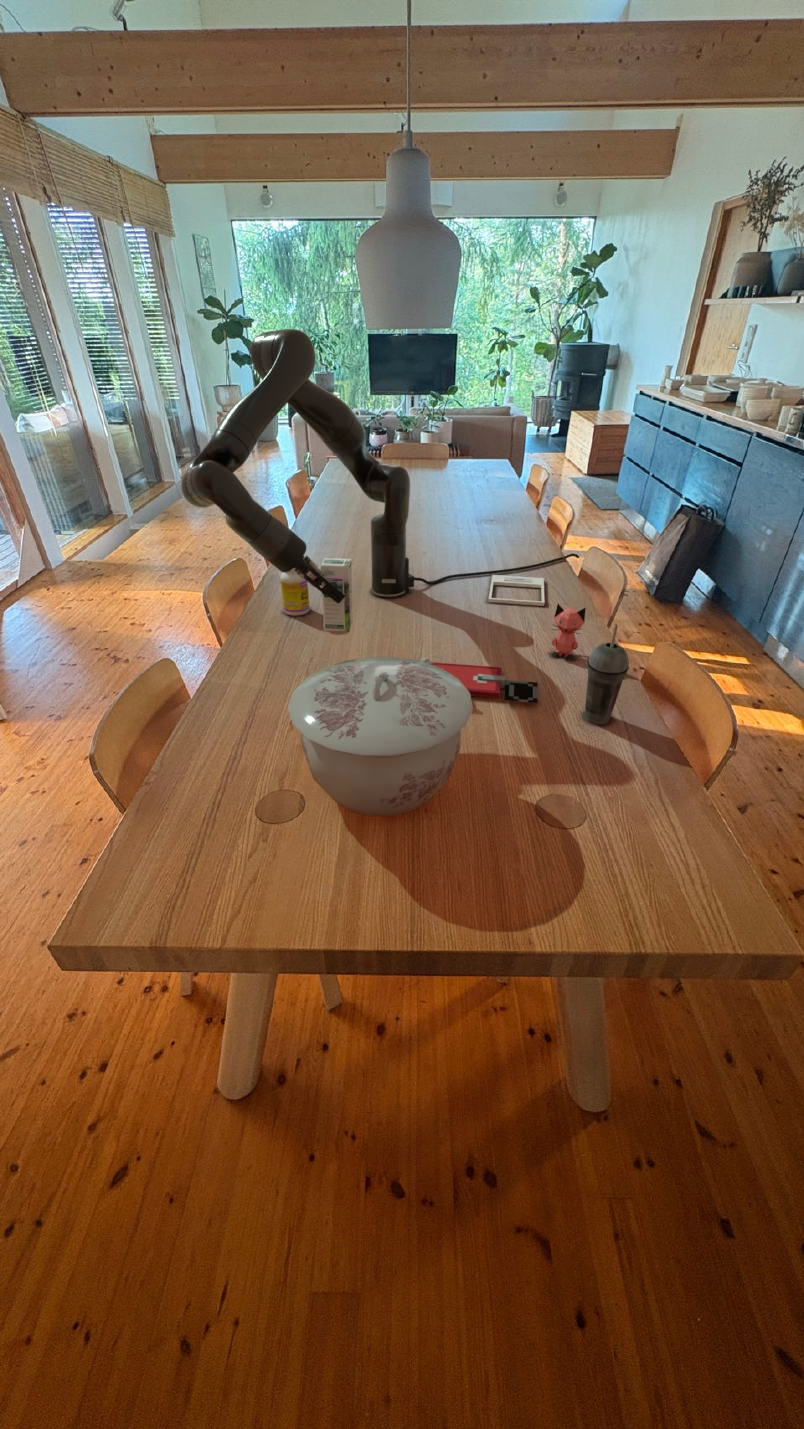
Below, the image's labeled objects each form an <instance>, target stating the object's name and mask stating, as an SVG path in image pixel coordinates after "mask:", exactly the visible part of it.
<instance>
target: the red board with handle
mask: <svg viewBox="0 0 804 1429" xmlns="http://www.w3.org/2000/svg"><path fill="white" fill-rule="evenodd" d="M431 662H432V661H431ZM432 663H433V664H434V666H436V667H439V668H442V669H443V670H445V671H446V672H448V673H450V674H451V675H453V676H454V677H456V678H458V679H459V680H460V681H461V683H462V684H463V685H464V686H465V688H466V689H467V690H468V691H469V693H470V694H471V696H476V697H488V698H489V697H490V698H500V693H501V692H500V691H501V689H504V690H503V692H504V693H503V701H507V702H520V703H530V704H538V702H539V698H538V696H539V693H538V682H537V681H523V680H510V679H506V677H507V676H506V675H502V670H503V669H502V667H501V666H489V665H488V666H487V665H475V664H459V663H446V662H445V663H444V662H432Z"/></svg>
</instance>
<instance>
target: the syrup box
mask: <svg viewBox="0 0 804 1429" xmlns="http://www.w3.org/2000/svg"><path fill="white" fill-rule="evenodd" d="M320 570H321V571H322V572H323V573H324V574H325V578H326V579H327V580H328V581H329V582H331V583H332V584H333V586H334V587H336V588H337V589H338V590H339V591H340V592H341V593H343V594H344V596H345V597H344V599H343V600H342V601H341V602H340V603H336V602H335V601H334V600H333V599H332V598H330V597H329V596H328V595H327V594H326V595H323V594H322V593H321V594H322V595H321V596H322V614H323V615H322V616H323V631H324V632H343V633H344V632H345V633H346V632H347V633H350V631H351V629H352V625H353V624H352V623H353V582H352V581H353V580H352V579H353V578H352V577H353V576H352V558H335V557H333V558H332V557H331V558H330V557H325V558H324V559H323V561H322V563H321V566H320ZM325 585H326V583H325V582H322V586H321V587H322V588H323V587H324V586H325Z"/></svg>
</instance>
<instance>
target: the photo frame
mask: <svg viewBox="0 0 804 1429" xmlns="http://www.w3.org/2000/svg"><path fill="white" fill-rule="evenodd" d="M494 586H505V587H506V586H507V587H520V588H521V587H522V588H533V589H535V588H537V589H540V593H541V594H540V595H541V596H540V597H541V601H540V600H525V599H511V598H499V597H498V598H497V597H493V589H494ZM487 601H488V603H496V604H511V605H523V606H524V605H525V606H540V607H544V606H545V603H546V602H545V601H546V600H545V577H532V576H530V577H529V576H519V575H518V576H517V575H516V576H515V575H499V574H491V580H490V588H489V594H488V600H487Z"/></svg>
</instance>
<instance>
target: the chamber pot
mask: <svg viewBox="0 0 804 1429" xmlns="http://www.w3.org/2000/svg"><path fill="white" fill-rule="evenodd" d="M433 663H434V662H433ZM433 663H432V660H430V659H429V658H426V657H421V658H420V659H419V660H416V659H411V658H403V657H397V656H370V657H363V658H357V659H350V660H344V661H341V662H339V663H335V664H332V665H328V666H325V667H323V668H321V669H320V670H318V671H316V672H314V673H313V674H311V675H309V676H307V677H306V678H305V679H304V680H303V681H301V683H300V684H299V685H298V686H297V687H296V689H295V690H294V691H293V692H292V693H291V696H290V699H289V702H288V706H287V709H288V713H289V717H290V720H291V723H292V725H293V726H294V727H295V728H296V729H298V731H299V732H300V740H301V747H302V750H303V753H304V757H305V760H306V763H307V765H308V768H309V771H310V773H311V776H312V779H313V781H314V782H315V783H316V784H317V785H318V786H319V787H320V788H321V789H322V790H323V792H325V793H326V794H327V795H328V796H329V797H330V798H331V799H332V800H333V801H334V802H335V803H336V804H337V805H339V806H340V807H343V808H345V809H347V810H349V811H351V812H353V813H355V814H359V815H364V816H368V817H386V818H387V817H395V816H398V815H403V814H407V813H409V812H412V811H413V810H416V809H418V808H419V807H422V806H423V805H425V804H426V803H427V802H429V800H431V798H433V797H434V796H435V795H436V793H437V792H439V790H440V789H441V788H443V786H444V785H445V784H446V783H447V782H448V781H449V780H450V777H451V775H452V772H453V770H454V768H455V765H456V762H457V759H458V755H459V753H460V749H461V743H462V742H461V740H462V729H463V728H464V727H465V726H466V725H467V724H468V723H469V722H468V721H469V719H470V718H471V715H472V713H473V711H474V707H473V701H472V695H471V694H470V693H469V691H468V690H467V689H466V688H465V686H464V685H463V684H462V683H461V681H460V680H459V679H458V678H456V677H454V676H453V675H451V674H450V673H448V672H446V671H445V670H443V669H442V668H439V667H436V666H434V664H433Z"/></svg>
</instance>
